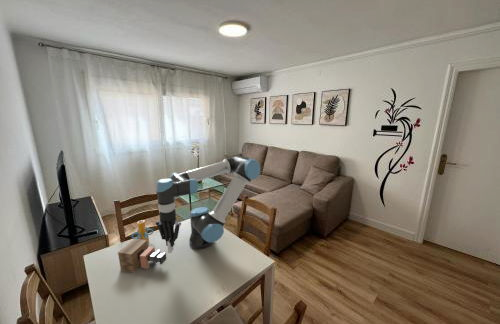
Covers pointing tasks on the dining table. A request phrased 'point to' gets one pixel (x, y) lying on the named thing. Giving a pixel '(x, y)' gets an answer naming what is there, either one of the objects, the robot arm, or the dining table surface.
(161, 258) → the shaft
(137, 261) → the block
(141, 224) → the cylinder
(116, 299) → the dining table surface
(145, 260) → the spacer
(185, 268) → the dining table surface
